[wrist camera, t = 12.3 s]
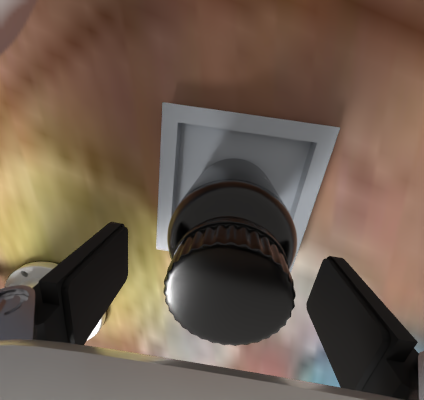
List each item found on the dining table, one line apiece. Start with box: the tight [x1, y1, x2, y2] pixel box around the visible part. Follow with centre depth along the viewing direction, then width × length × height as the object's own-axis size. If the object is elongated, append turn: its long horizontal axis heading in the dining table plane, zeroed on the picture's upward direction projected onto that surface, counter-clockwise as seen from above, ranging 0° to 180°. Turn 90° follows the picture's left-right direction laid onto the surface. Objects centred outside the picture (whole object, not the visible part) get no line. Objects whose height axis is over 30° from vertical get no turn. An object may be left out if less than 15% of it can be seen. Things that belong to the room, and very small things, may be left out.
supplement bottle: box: [164, 158, 297, 346], centre depth 13 cm, size 7×7×12 cm
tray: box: [156, 102, 340, 272], centre depth 18 cm, size 13×13×2 cm
